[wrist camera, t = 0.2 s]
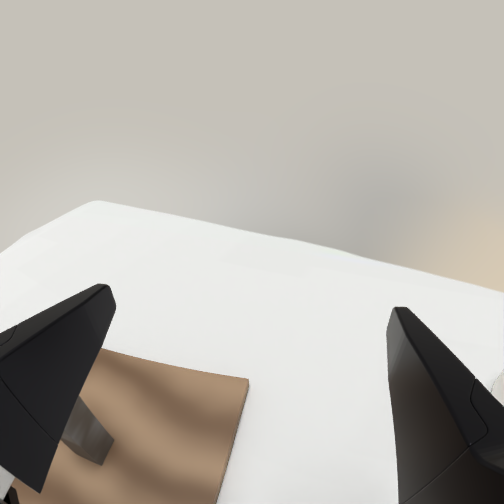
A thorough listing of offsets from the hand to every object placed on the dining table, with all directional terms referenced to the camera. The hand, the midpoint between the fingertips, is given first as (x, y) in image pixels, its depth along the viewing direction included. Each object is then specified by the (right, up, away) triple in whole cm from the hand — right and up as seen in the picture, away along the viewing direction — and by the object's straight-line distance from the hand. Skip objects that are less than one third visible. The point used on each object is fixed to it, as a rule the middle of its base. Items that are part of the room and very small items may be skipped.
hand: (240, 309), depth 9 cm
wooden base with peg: (-12, -14, +10) cm, 21 cm away
